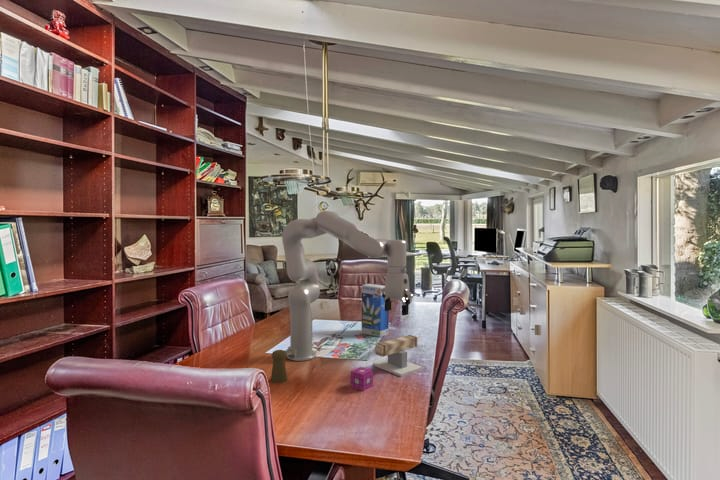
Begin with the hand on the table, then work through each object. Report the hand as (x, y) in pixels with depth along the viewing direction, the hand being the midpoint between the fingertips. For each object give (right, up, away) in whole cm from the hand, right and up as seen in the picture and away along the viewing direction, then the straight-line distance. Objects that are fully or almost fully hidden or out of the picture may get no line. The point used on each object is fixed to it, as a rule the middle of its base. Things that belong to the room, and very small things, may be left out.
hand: (396, 312), depth 156 cm
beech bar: (0, -15, 0) cm, 15 cm away
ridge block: (0, -22, +1) cm, 22 cm away
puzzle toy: (-14, -23, -18) cm, 33 cm away
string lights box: (-7, -21, +49) cm, 54 cm away
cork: (-45, -23, -13) cm, 52 cm away
